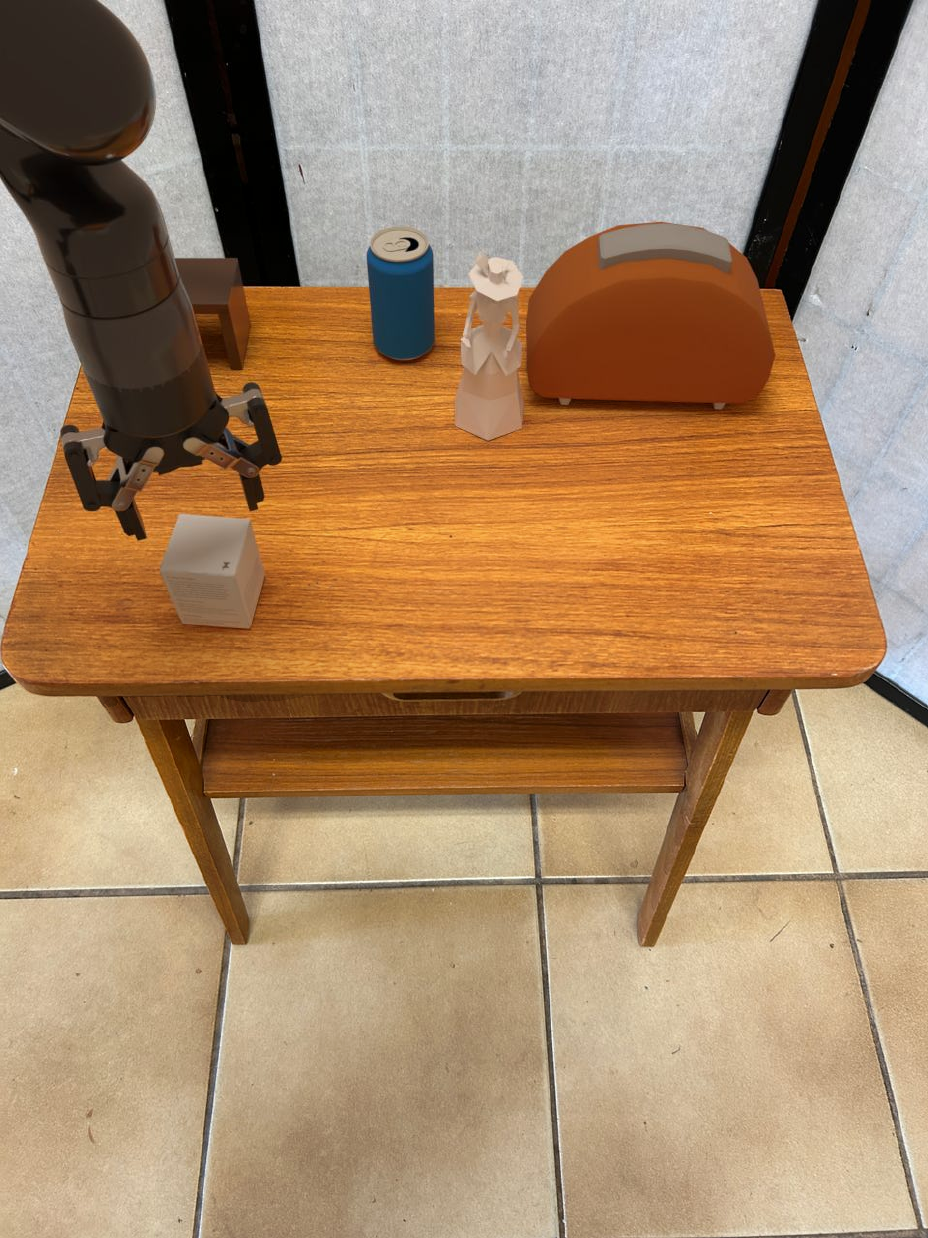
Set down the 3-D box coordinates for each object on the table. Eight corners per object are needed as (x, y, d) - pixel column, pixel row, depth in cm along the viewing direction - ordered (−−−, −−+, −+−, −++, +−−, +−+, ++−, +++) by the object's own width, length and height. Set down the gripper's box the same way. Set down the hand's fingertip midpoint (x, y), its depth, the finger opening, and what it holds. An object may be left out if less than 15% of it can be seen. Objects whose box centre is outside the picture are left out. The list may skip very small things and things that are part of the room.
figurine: (455, 442, 92) (456, 280, 78) (453, 386, 97) (453, 223, 82) (528, 440, 92) (542, 279, 78) (521, 384, 97) (534, 222, 82)
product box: (267, 574, 83) (253, 517, 77) (251, 631, 79) (235, 576, 73) (198, 568, 83) (178, 511, 77) (178, 625, 79) (156, 570, 73)
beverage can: (442, 358, 99) (441, 255, 90) (382, 370, 98) (375, 267, 88) (425, 320, 103) (422, 218, 93) (367, 332, 102) (358, 229, 92)
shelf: (242, 369, 98) (227, 303, 92) (135, 370, 98) (112, 303, 91) (251, 323, 102) (237, 257, 96) (148, 323, 102) (127, 257, 96)
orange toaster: (745, 357, 100) (792, 208, 86) (758, 415, 95) (810, 267, 81) (523, 350, 100) (534, 201, 87) (523, 408, 95) (535, 260, 81)
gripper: (29, 410, 56) (110, 579, 69) (265, 355, 59) (300, 527, 72) (16, 333, 60) (95, 507, 73) (238, 286, 63) (276, 461, 76)
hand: (197, 517), depth 73 cm, fingers open, 8 cm apart
